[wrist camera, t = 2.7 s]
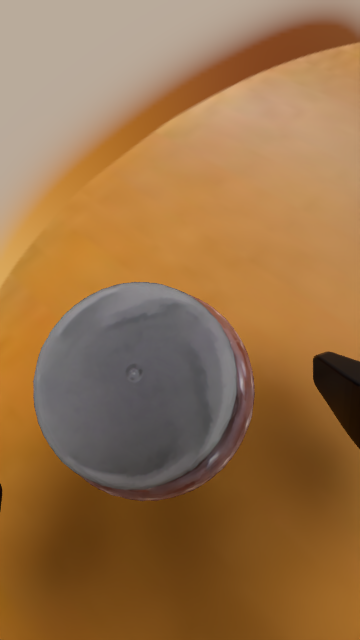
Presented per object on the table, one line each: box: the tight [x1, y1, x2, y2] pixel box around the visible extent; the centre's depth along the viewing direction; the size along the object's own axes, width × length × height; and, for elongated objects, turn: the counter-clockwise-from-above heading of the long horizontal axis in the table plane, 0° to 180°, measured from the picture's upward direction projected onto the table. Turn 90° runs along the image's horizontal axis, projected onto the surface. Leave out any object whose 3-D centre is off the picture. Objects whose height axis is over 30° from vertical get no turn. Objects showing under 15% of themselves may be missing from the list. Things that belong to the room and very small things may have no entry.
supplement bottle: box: [34, 282, 255, 501], centre depth 11 cm, size 6×6×11 cm
